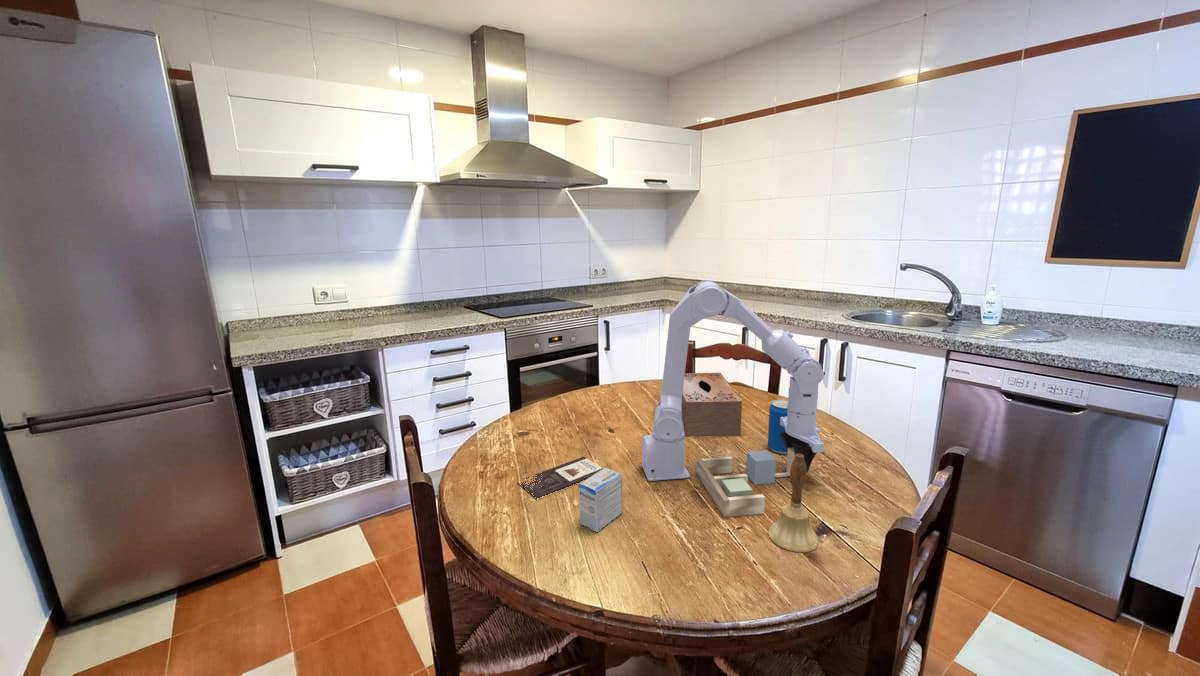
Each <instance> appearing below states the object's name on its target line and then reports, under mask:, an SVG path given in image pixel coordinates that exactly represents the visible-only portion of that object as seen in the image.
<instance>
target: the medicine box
mask: <svg viewBox="0 0 1200 676" xmlns="http://www.w3.org/2000/svg"><path fill="white" fill-rule="evenodd" d="M623 491H624V490H623V474H622V473H620V472H618V471H615V470H612V469H610V468H607V467H603V469H602V470H601V471H599V472H597V473H596V474H594V475H593V476H591V477H589V478H588V479H586V480H585V481H583V482H581V483H579V484H578V495H579V517H580V518H579V520H580V525H581V526H583V525H584V526H583V527H585V526H587V527H589V528H590V529H589V528H588V529H589V530H591V529H592V530H591V531H593V530H595V531H596V532H595V531H594V532H595V533H597V532H598V533H599V532H600V531H601V529H602V528H603V527H604V528H605V527H606V525H607V524H608V525H610V524H611V523H612V522H613V521H614V520H615V519H616V517H617V518H618V517H619V516H620V515H622V514H623V513H624V510H623V509H624V502H623V499H624V498H623V497H624V496H623ZM612 520H613V521H612ZM611 521H612V522H611ZM608 525H607V526H608ZM587 527H586V528H587ZM604 528H603V529H604ZM603 529H602V530H603Z"/></svg>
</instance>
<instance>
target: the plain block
mask: <svg viewBox="0 0 1200 676" xmlns="http://www.w3.org/2000/svg"><path fill="white" fill-rule="evenodd" d="M722 490H723V491H724V493H725V494H726V496H727V497H738V496H749V495H754V494H753V489H752V487H751V486H750V484H749V483H747V482H746V481H745V480H744V479H743V478H740V479H729V480H722Z"/></svg>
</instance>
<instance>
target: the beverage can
mask: <svg viewBox="0 0 1200 676" xmlns="http://www.w3.org/2000/svg"><path fill="white" fill-rule="evenodd" d="M768 411H769V412H768V429H767V430H768V432H767V447H768V448H769V449H770V450H771V451H772V452H774V453H776V454H780V455H787V451H786V448H785V444H784V442H783V440H782V438H781V436H780V433H782V432H786V431H785V428H784V426H781V425H780V417H787V412H788V399H775V400H772V401H771V404H770V406H769V409H768Z"/></svg>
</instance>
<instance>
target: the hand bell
mask: <svg viewBox="0 0 1200 676" xmlns="http://www.w3.org/2000/svg"><path fill="white" fill-rule="evenodd" d="M807 474H808V472H807V467H806V463H805V460H804V455H803V454H800V453H798V454H796V455H795V458H794V460H793V462H792V465H791V469H790V476H789V477H790V483H791V486H792V488H791V489H792V490H791V497H790V503H786V504H784V505H783V506H782V507H781V510H780V514H779V517H778V519H777V521H776V522H774V523H772V524H771V525H770V527H769V529H768V531H767V533H768V537H769V539H770V540H771V541H772V542H773V543H774V544H776V545H777V546H778V547H779V548H782V549H784V550H787V551H790V552H794V553H801V554H802V553H810V552H812V551H814V550H816V549H817V548H818V547H819V544H820V541H819V537H818V535H817V534H816V532H815V531H814V530H813V529H812V527H811V523H810V513H809V511H808V509H807V508H806V507H804V506H803V505H802V501H803V499H802V494H803V487H804V485H805V482H806V479H807Z"/></svg>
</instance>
